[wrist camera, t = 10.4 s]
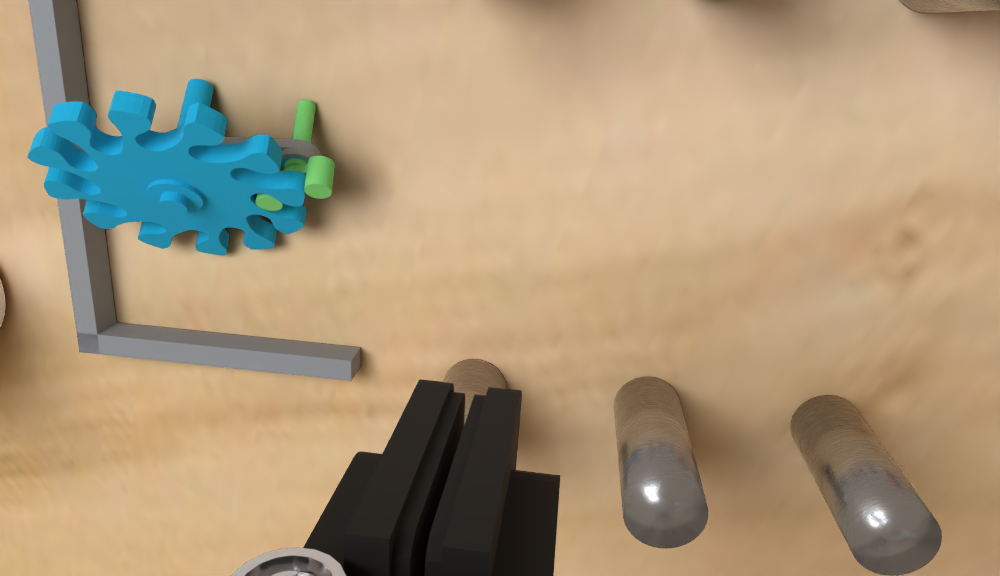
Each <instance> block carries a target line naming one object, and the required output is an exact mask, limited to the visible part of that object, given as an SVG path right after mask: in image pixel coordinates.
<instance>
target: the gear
mask: <svg viewBox="0 0 1000 576" xmlns="http://www.w3.org/2000/svg"><path fill="white" fill-rule="evenodd" d="M213 90H214V89H213V87H212V85H211V84H210V83H208V82H207V81H204V80H201V79H192V80H190V81H189V82H188V85H187V89H186V93H185V97H184V102H183V106H182V110H181V114H180V118H179V122H178V127H177V128H176V129H174V130H172V131H169V132H166V133H158V132H154V131H151V130H149V129H150V128H151V124H152V120H153V116H154V113H155V109H156V104H155V101H154V100H153V99H152V98H150V97H147V96H144V95H140V94H136V93H130V92H123V91H116V92H115V93H114V96H113V100H112V103H111V107H110V110H109V114H108V117H109V119H110V121H111V122H112V123H113V124H114V125H115V126H116V127H117V128H118V129H119V131H120V132H121V134H122V136H119V137H118V136H111V135H107V134H105V133H103V132H101V131H100V130H99V129H98V128H97V127H96V125H95V121H96V117H97V115H96V112H95V111H94V109H93V108H92V107H90V106H89V105H88V104H86V103H84V102H77V101H74V102H65V103H60V104H57V105H54V107H53V110H52V113H51V116H50V119H49V122H48V127H49V128H47V127H45V128H43V129H41V130H39V131H38V132H37V134H36V135H35V137H34V139H33V142H32V145H31V148H30V151H29V154H28V157H27V158H29V159H30V160H31V161H33V162H35V163H38V164H40V165H44V166H48V167H49V170H48V173H47V176H46V179H45V182H44V187H45V189H46V191H47V193H48V194H49V196H51V197H54V198H58V199H64V200H69V199H87V201H86V205H85V208H84V212H83V216H84V217H85V218H86V219H87V220H88V221H89V222H91V223H92V224H94V225H96V226H97V227H99V228H103V229H110V228H114V227H116V226H117V225H119V224H122V223H126V222H142V224H141V228H140V232H139V236H138V239H139V240H141V241H142V242H145V243H147V244H150V245H152V246H156V247H159V248H162V249H163V248H168V247H169V246H170V245H171V241H172V237H173V236H175V235H176V234H178V233H181V232H184V231H187V230H197V231H199V232H198V237H197V241H196V246H195V247H196V250H198V251H200V252H204V253H209V254H217V255H225V254H226V252H227V247H228V242H229V237H230V236H229V233H228V232H227V231H226V230H225V229H224V228H229V227H232V228H238V229H241V230H243V231H244V232H245V236H244V245H245V246H246V247H248V248H250V249H268V248H273V247H274V246H275V240H276V234H277V230H278V231H280V232H283V233H287V234H290V233H293V232H296V231H298V230H299V229H301V228H302V227H303V226H304V225H305V218H306V211H307V209H306V208H305V207H304V206H303V205H302V204H303V203H304V199H305V193H306V194H307V195H309V196H311V197H313V198H318V199H324V198H328V197H330V196H331V194H332V186H333V178H334V170H335V163H334V161H333V160H332V159H330V158H328V157H325V156H320V154H321V153H320V151H319V149H318V148H317V147H316V146H315V145H314V144H312V143H311V137H312V130H313V123H314V116H315V109H316V105H315V103H314V102H312V101H310V100H306V99H303V100H300V101H299V102H298V105H297V112H296V118H295V125H294V131H293V138H292V139H275V138H272V137H271V136H270V135H263V134H260V135H255V136H252V137H251V138H247V137H224V135H225V130H226V126H227V121H228V118H226V117H225V116H224V115H223V114H221V113H219V112H218V111H216V110H214V109H212V108H210V104H211V100H212V95H213ZM72 142H73V143H74V144H76V145H78V146H79V147H81V148H82V149H83V150H84V151H86V152H84V151H82V150H80V149H78V148H76V147H75V146H74V145H73V143H72ZM257 215H262V216H265V217H267V218H269V219H270V220H271V221H272V224H273V225H272V224H271V223H268V222H266V221H265V220H263V219H261V218H260V217H259V216H257Z"/></svg>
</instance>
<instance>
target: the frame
mask: <svg viewBox="0 0 1000 576" xmlns="http://www.w3.org/2000/svg"><path fill="white" fill-rule="evenodd" d="M28 1H29V7H30V14H31V21H32V28H33V35H34V42H35V49H36V56H37V62H38V69H39V76H40V83H41V90H42V97H43V104H44V111H45V118H46V124H47V128H49V127H48V122H49V119H50V116H51V113H52V110H53V107H54V105H57V104H60V103H65V102H74V101H77V102H84V103H86V104H88V105H89V98H88V90H87V82H86V74H85V66H84V57H83V49H82V41H81V33H80V25H79V17H78V9H77V1H76V0H28ZM72 143H73V142H72ZM73 145H74V146H75V147H76V148H78V149H80V150H82V151H84V150H83V149H82V148H81V147H79V146H78V145H76V144H74V143H73ZM84 152H86V151H84ZM57 200H58V207H59V214H60V221H61V228H62V235H63V241H64V248H65V255H66V262H67V269H68V276H69V283H70V290H71V297H72V303H73V310H74V317H75V324H76V331H77V338H78V345H79V352H83V353H92V354H102V355H111V356H121V357H130V358H140V359H149V360H159V361H168V362H177V363H187V364H196V365H206V366H215V367H225V368H234V369H244V370H253V371H263V372H272V373H281V374H291V375H300V376H310V377H319V378H329V379H338V380H348V381H351V380H352V379H353V377H354V376H355V374H356V373H357V371H358V370H359V368H360V367H361V358H360V347H352V346H343V345H333V344H323V343H313V342H303V341H294V340H284V339H274V338H264V337H254V336H245V335H235V334H225V333H215V332H205V331H196V330H186V329H176V328H166V327H156V326H147V325H137V324H127V323H117V322H116V314H115V306H114V298H113V290H112V282H111V274H110V266H109V258H108V250H107V242H106V234H105V229H103V228H99V227H97V226H96V225H94V224H92V223H91V222H89V221H88V220H87V219H86V218H85V217H84V216H83V212H84V208H85V205H86V201H87V199H69V200H64V199H58V198H57Z"/></svg>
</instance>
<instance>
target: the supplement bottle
mask: <svg viewBox="0 0 1000 576" xmlns="http://www.w3.org/2000/svg"><path fill="white" fill-rule="evenodd" d="M5 305H6V303H5V293H4V288H3V285H2V282H1V279H0V327H1V325H2V322H3V319H4V315H5Z"/></svg>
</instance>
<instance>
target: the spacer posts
mask: <svg viewBox="0 0 1000 576" xmlns="http://www.w3.org/2000/svg"><path fill="white" fill-rule="evenodd" d="M900 1H901V2H902V3H903V4H904V5H905V6H906V7H908V8H909V9H911V10H914V11H917V12H921V13H940V12H964V11H988V10H1000V0H900ZM443 382H447V383H453V384H454V392H458V393H465V418H464V425H465V422H466V419H467V416H468V413H469V410H470V406H471V403H472V400H473V397H474V395H475V394H476V395H485V396H486V393H487V390H488V387H492V388H501V389H507V385H506V381H505V379H504V376H503V375H502V373H501V372H500V371H499V370H498V369H497V368H496V367H495V366H494V365H492V364H490V363H488V362H486V361H483V360H479V359H468V360H463V361H461V362H458V363H457V364H455V365H454V366H453V367H451V368H450V370H449V371H448V372H447V374H446V376H445V379H444V381H443ZM614 412H615V424H616V436H617V448H618V460H619V472H620V484H621V496H622V507H623V518H624V522H625V525H626V527H627V529H628V530H629V532H630V533H631V534H632V535H633V536H634V537H635V538H636V539H638V540H639V541H641V542H642V543H644V544H647V545H649V546H652V547H657V548H675V547H679V546H682V545H685V544H687V543H689V542H691V541H692V540H694V539H695V538H696V537H697V536H699V534H700V533H701V532H702V531H703V529H704V528H705V525H706V523H707V519H708V507H707V503H706V499H705V495H704V492H703V488H702V484H701V480H700V476H699V472H698V469H697V465H696V461H695V457H694V453H693V450H692V446H691V442H690V438H689V434H688V430H687V427H686V423H685V419H684V415H683V411H682V407H681V404H680V400H679V397H678V394H677V392H676V391H675V390H674V388H673V387H672V386H671V385H670V384H668V383H667V382H665V381H663V380H661V379H658V378H654V377H641V378H636V379H634V380H631V381H629V382H628V383H626V384H625V385H624V386H623V387H622V388H621V389H620V390H619V391H618V393H617V395H616V398H615V401H614ZM791 433H792V436H793V438H794V440H795V442H796V444H797V446H798V448H799V450H800V452H801V454H802V456H803V458H804V460H805V462H806V464H807V465H808V467H809V469H810V471H811V473H812V475H813V477H814V479H815V481H816V483H817V485H818V487H819V489H820V491H821V493H822V495H823V497H824V499H825V500H826V502H827V504H828V506H829V508H830V510H831V512H832V514H833V516H834V518H835V520H836V522H837V524H838V526H839V528H840V530H841V532H842V533H843V535H844V537H845V539H846V541H847V543H848V545H849V547H850V549H851V551H852V553H853V555H854V557H855V558H856V560H857V561H858V562H859V563H860V564H861V565H862V566H863V567H865V568H866V569H868V570H870V571H872V572H875V573H878V574H882V575H903V574H907V573H910V572H913V571H916V570H918V569H920V568H922V567H923V566H925V565H926V564H927V563H929V562H930V561H931V560H932V559H933V557H934V556H935V555H936V553H937V552H938V550H939V547H940V545H941V539H942V535H941V529H940V526H939V524H938V522H937V521H936V519H935V518H934V517H933V515H932V514H931V513H930V511H929V510H928V508H927V507H926V506H925V504H924V503H923V501H922V500H921V499H920V497H919V496H918V494H917V493H916V492H915V490H914V489H913V487H912V486H911V485H910V483H909V482H908V480H907V479H906V478H905V476H904V475H903V474H902V472H901V471H900V469H899V468H898V467H897V465H896V464H895V462H894V461H893V460H892V458H891V457H890V455H889V454H888V453H887V451H886V450H885V448H884V447H883V446H882V444H881V443H880V442H879V440H878V439H877V437H876V436H875V435H874V433H873V432H872V430H871V429H870V428H869V426H868V425H867V423H866V422H865V421H864V419H863V418H862V416H861V415H860V414H859V412H858V411H857V409H856V408H855V407H854V406H853V405H852V404H851V403H850V402H849V401H847V400H846V399H843V398H841V397H838V396H832V395H825V396H818V397H815V398H812V399H810V400H808V401H806V402H805V403H803V404H802V405H801V406H800V407H799V408H798V409H797V410H796V412H795V413H794V415H793V417H792V420H791Z"/></svg>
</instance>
